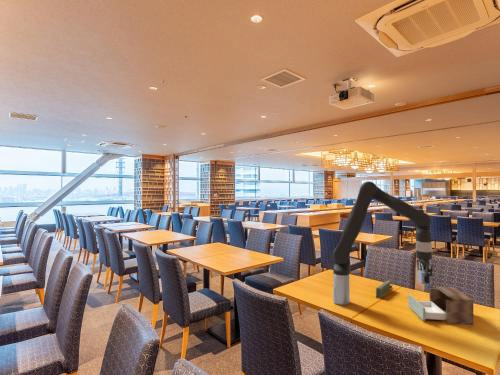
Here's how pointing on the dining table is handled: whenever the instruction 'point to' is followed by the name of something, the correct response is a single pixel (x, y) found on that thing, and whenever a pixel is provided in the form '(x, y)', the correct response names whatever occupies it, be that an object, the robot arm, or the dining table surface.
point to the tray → (426, 309)
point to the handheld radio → (383, 289)
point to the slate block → (421, 277)
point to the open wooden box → (453, 305)
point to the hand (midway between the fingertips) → (424, 281)
